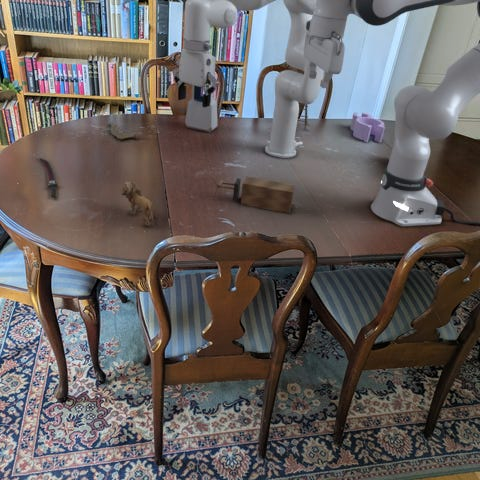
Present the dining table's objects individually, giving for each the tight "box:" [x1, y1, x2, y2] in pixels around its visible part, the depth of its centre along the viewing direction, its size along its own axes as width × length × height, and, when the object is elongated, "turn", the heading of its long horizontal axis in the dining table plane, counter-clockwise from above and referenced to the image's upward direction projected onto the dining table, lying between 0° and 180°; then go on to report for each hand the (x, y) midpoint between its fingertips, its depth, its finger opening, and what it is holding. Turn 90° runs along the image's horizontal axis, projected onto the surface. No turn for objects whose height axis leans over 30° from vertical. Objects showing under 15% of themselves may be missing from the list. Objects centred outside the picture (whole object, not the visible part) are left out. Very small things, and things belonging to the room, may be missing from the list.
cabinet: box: [240, 176, 296, 214], centre depth 147 cm, size 16×5×7 cm, turn 78°
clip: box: [349, 112, 386, 143], centre depth 214 cm, size 20×12×7 cm, turn 11°
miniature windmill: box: [296, 68, 309, 131], centre depth 209 cm, size 9×8×30 cm
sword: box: [40, 158, 59, 198], centre depth 151 cm, size 31×3×1 cm, turn 26°
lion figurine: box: [119, 181, 159, 227], centre depth 134 cm, size 15×5×9 cm, turn 50°
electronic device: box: [184, 55, 218, 133], centre depth 194 cm, size 12×8×30 cm, turn 71°
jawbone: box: [109, 121, 143, 140], centre depth 188 cm, size 9×20×2 cm, turn 50°
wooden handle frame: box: [216, 178, 243, 201], centre depth 148 cm, size 20×4×6 cm, turn 78°
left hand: (193, 102), depth 148 cm, fingers open, 9 cm apart
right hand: (317, 82), depth 129 cm, fingers open, 8 cm apart
